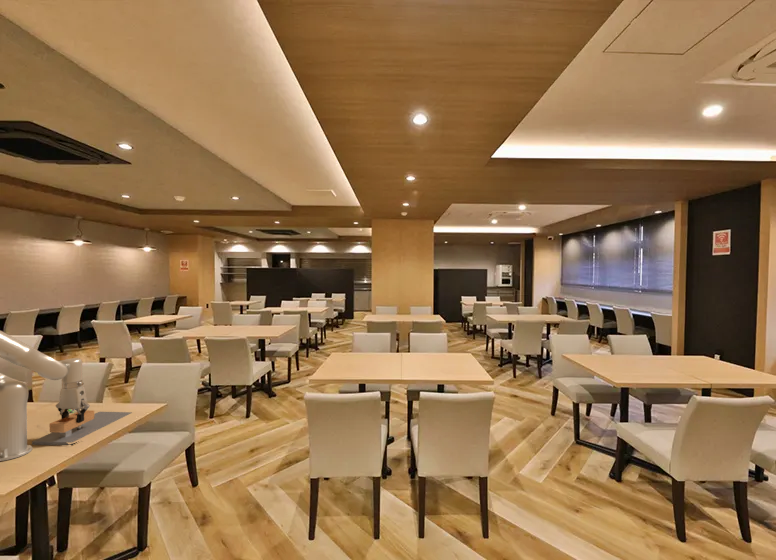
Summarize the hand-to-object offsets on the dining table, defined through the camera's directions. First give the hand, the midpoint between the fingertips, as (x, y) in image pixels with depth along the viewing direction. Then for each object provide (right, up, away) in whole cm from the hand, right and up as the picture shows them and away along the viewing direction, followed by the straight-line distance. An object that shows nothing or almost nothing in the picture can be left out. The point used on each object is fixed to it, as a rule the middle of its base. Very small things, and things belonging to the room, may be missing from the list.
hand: (73, 421), depth 174 cm
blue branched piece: (-25, -7, +28) cm, 38 cm away
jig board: (0, -7, +8) cm, 10 cm away
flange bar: (0, -2, 0) cm, 2 cm away
